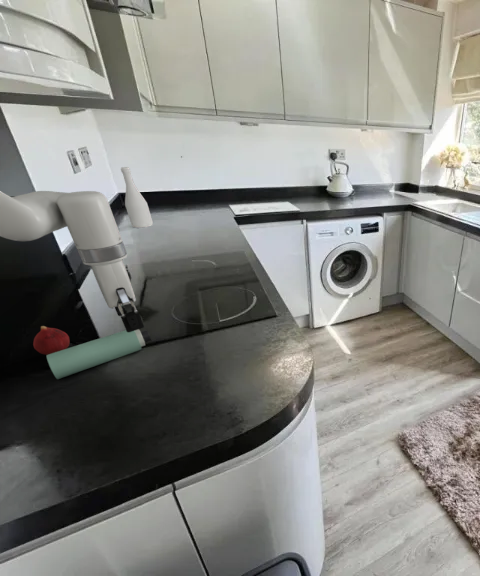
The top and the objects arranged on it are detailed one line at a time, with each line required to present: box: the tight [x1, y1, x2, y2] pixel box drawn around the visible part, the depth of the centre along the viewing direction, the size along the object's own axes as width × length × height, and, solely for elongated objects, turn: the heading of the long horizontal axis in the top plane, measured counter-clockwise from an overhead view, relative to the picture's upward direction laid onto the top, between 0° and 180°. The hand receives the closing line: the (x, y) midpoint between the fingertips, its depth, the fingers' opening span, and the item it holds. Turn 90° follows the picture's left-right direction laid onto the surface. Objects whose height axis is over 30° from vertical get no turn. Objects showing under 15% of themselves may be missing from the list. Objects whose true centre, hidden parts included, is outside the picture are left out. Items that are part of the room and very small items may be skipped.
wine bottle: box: [120, 166, 154, 229], centre depth 169 cm, size 10×10×30 cm
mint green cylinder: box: [46, 329, 152, 380], centre depth 74 cm, size 17×6×6 cm, turn 136°
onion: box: [32, 325, 71, 356], centre depth 74 cm, size 6×6×8 cm
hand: (130, 321), depth 76 cm, fingers open, 9 cm apart
